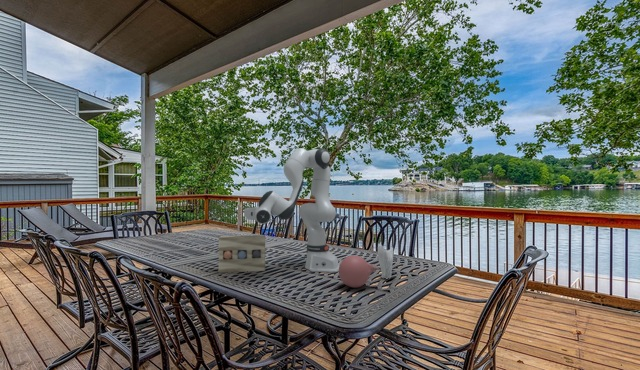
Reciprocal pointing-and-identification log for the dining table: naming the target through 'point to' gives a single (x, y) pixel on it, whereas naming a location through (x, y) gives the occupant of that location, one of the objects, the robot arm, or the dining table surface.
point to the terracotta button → (227, 254)
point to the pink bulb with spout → (355, 271)
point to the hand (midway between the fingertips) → (262, 210)
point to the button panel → (237, 245)
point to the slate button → (242, 254)
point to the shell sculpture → (385, 261)
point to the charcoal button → (256, 253)
